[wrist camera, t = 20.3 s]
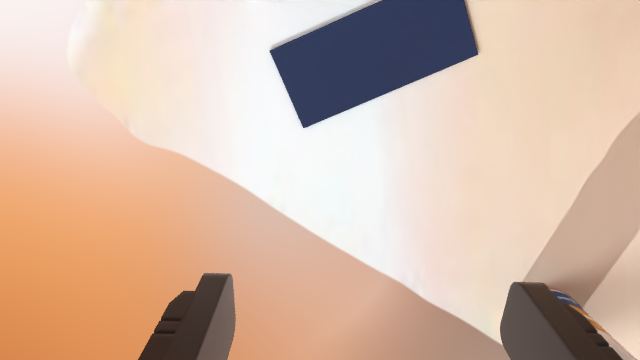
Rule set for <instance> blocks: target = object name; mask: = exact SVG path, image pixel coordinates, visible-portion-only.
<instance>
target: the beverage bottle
mask: <svg viewBox="0 0 640 360" xmlns="http://www.w3.org/2000/svg"><path fill="white" fill-rule="evenodd" d="M550 290H551V291H552V293H553V294H554V295H555V296H556V297H557V298H558V300H559V301H560V302H565V303H567V304H568V305H570V306H571V307H573V308H574V309H575V310H577V311H578V312H580V313H581V314H583V315H584V316H585V317H586V318H587V320H588V321H589V322H590V323H591V324H592V325H593V326H594V327H595V329H596V330H597V333H598V334H601V335H602V336H603V338H604V339H605V340H606V341H607V342H608V343H609V347H612V348H613V349H614V350H615V351H616V352H617V353H618V354H619V356H620V357H621V358H622V359H623V360H637V359H636V358H634V357H633V356H632V355H631V354H630V353H629V352H628V351H627V350H626V349H625V348H624V347H623V346H621V345H620V344H619V343H618V342H617V341H616V340H615V339H614V338H613V337H612V336H611V335H609V334H608V333H607V332H606V331H605V330H604V329H603V328H602V327H601V326H600V325H599V324H598V323H597V322H595V321H594V320H593V319H592V318H591V317H590V316H589V315H588V314H587V313H586V312H585V311H584V310H583V309H582V308H581V307H580V306H579V304H578V303H577V302H576V301H575V300H573V299H572V298H571V297H570V296H569V295H567V294H565V293H563V292H561V291H558V290H553V289H550Z"/></svg>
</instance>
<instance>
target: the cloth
mask: <svg viewBox="0 0 640 360" xmlns="http://www.w3.org/2000/svg"><path fill="white" fill-rule="evenodd" d="M270 53H271V55H272V57H273V60H274V62H275V64H276V66H277V69H278V71H279V73H280V76H281V78H282V80H283V82H284V85H285V87H286V89H287V92H288V94H289V96H290V98H291V101H292V103H293V105H294V108H295V110H296V112H297V114H298V117H299V119H300V121H301V124H302V126H303V128H305V127H308V126H310V125H312V124H315V123H317V122H320V121H322V120H324V119H327V118H329V117H331V116H334V115H336V114H339V113H341V112H343V111H346V110H348V109H350V108H353V107H355V106H357V105H360V104H362V103H365V102H367V101H369V100H372V99H374V98H376V97H379V96H381V95H384V94H386V93H388V92H391V91H393V90H395V89H398V88H400V87H402V86H405V85H407V84H410V83H412V82H414V81H417V80H419V79H421V78H424V77H426V76H428V75H431V74H433V73H436V72H438V71H440V70H443V69H445V68H447V67H450V66H452V65H455V64H457V63H459V62H462V61H464V60H466V59H469V58H471V57H473V56H476V55H478V52H477V48H476V45H475V41H474V37H473V33H472V30H471V26H470V22H469V18H468V14H467V11H466V7H465V3H464V0H382V1H380V2H378V3H376V4H373V5H371V6H369V7H367V8H364V9H362V10H360V11H358V12H355V13H353V14H351V15H349V16H347V17H344V18H342V19H340V20H338V21H335V22H333V23H331V24H329V25H326V26H324V27H322V28H320V29H317V30H315V31H313V32H311V33H308V34H306V35H304V36H302V37H299V38H297V39H295V40H293V41H291V42H288V43H286V44H284V45H282V46H279V47H277V48H275V49H273V50H270Z"/></svg>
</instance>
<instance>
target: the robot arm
mask: <svg viewBox="0 0 640 360" xmlns="http://www.w3.org/2000/svg"><path fill="white" fill-rule="evenodd" d="M234 331H235V304H234V291H233V279H232V275H231V274H220V273H216V274H215V273H204V275H203V276H202V278H201V280H200V282H199V284H198V286H197V288H196V290H195V291H183V292H182V293H181V294H180V295H178V296H177V297H176V298H175V299H174V300H173V301H171V302H170V303H169V305H168V307H167V308H166V310H165V312H164V314H163V316H162V317H161V321H159V323H158V325H157V326H156V328H155V330H154V334H152V335H151V337H150V339H149V341H148V343H147V345H146V346H145V348H144V350H143V352H142V353H141V356H140V357H139V359H138V360H227V358H228V355H229V351H230V348H231V344H232V341H233V337H234ZM500 334H501V340H502V343H503V346H504V348H505V350H506V352H507V353H508V355H509V357H510V359H511V360H623V359H622V358H621V357H620V356H619V354H618V353H617V352H616V351H615V350H614V349H613V348H612V347H609V343H608V342H607V341H606V340H605V339H604V338H603V336H602V335H601V334H598V333H597V330H596V329H595V327H594V326H593V325H592V324H591V323H590V322H589V321H588V320H587V318H586V317H585V316H584V315H583V314H581V313H580V312H578V311H577V310H575V309H574V308H573V307H571V306H570V305H568V304H567V303H565V302H560V301H559V300H558V298H557V297H556V296H555V295H554V294H553V293H552V291H551V290H550V289H549V288H548V287H547V286H546V285H545V284H544V283H531V282H514V283H513V284H512V285H511V287H510V290H509V293H508V297H507V301H506V305H505V309H504V313H503V317H502V320H501V325H500Z"/></svg>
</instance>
